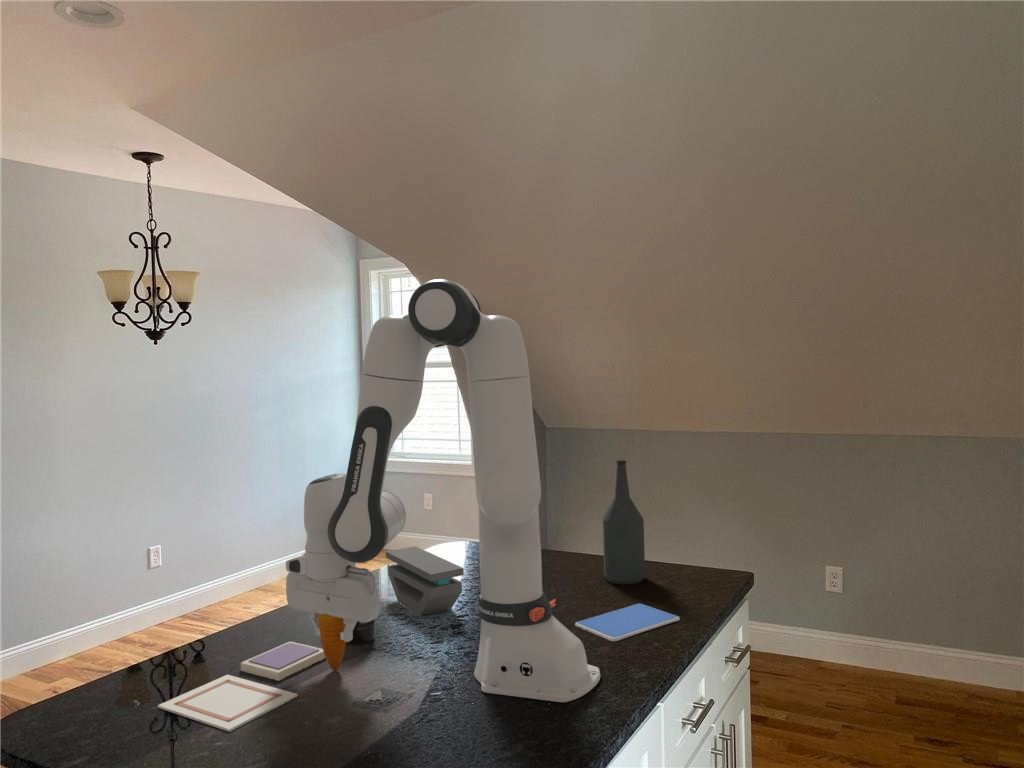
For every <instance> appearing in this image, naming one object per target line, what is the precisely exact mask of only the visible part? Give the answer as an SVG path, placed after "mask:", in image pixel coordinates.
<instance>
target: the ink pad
mask: <svg viewBox="0 0 1024 768" xmlns="http://www.w3.org/2000/svg"><path fill="white" fill-rule="evenodd" d="M324 658H325V659H326V657H325V655H324V651H323V648H319V647H318V646H312V645H308V644H303V643H300V642H299V643H298V642H295V641H287V642H285V643H283V644H281V645H279V646H275V647H273V648H272V649H270V650H267V651H265V652H262V653H261V654H257V655H255V656H253V657H251V658H247V659H246V660H243V661H242V662H240V671H241V672H244V673H247V674H252V675H255V676H259V677H263V678H266V677H267V679H270V680H273V679H274V681H278V682H279V681H282V680H283V679H286V678H288V677H289V675H290V676H292V675H294V674H296V673H298V672H300V671H302V670H304V669H306V668H309V667H310V665H311V666H312V664H313V665H315V664H317V663H319V662H321V661H323V660H325V659H324ZM318 661H319V662H318ZM316 662H317V663H316ZM314 663H315V664H314ZM308 666H309V667H308ZM305 667H306V668H305ZM303 668H304V669H303ZM301 669H302V670H301ZM299 670H300V671H299ZM297 671H298V672H297ZM295 672H296V673H295ZM293 673H294V674H293ZM291 674H292V675H291ZM287 676H288V677H287ZM285 677H286V678H285Z"/></svg>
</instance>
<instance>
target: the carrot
mask: <svg viewBox="0 0 1024 768" xmlns="http://www.w3.org/2000/svg"><path fill="white" fill-rule="evenodd" d="M326 598H327V601H329V599H330V597H329V596H327V597H326ZM319 626H320V636H319V637H320V641H321V646H322V649H323V651H324V655H325V657H326V658H325V660H326V662H327V663H328V665H329V666H330V669H332V670H333V671H334V672H336V671H337V670H338V669H340V665H341V663H342V661H343V657H344V655H345V652H346V645H347V644H346V642H344V641H341V640H340V632H341V631H344V628H345V626H346V624H344V623H343V618H339V617H334V616H330V615H328V614H320V616H319Z"/></svg>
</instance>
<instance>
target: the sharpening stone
mask: <svg viewBox="0 0 1024 768" xmlns="http://www.w3.org/2000/svg"><path fill="white" fill-rule="evenodd" d="M385 558H386V559H388V560H389V561H391V562H393V563H394V564H391V565H388V566H387V572H388V573H387V574H388V578H389V580H390V583H391V586H392V590H393V592H394V594H395V597H396V600H397V602H399V603H401V604H402V605H404V606H405V607H407V608H408V609H407V608H406V609H407V610H409V611H410V610H411V612H412V611H413V612H414V613H413V612H412V613H413V614H415V613H416V614H415V615H417V616H418V615H419V616H418V617H423V616H427V615H426V614H428V615H431V613H432V614H435V612H437V613H439V611H441V612H445V611H449V610H448V609H450V610H452V609H453V607H454V605H455V604H456V602H457V600H458V599H459V597H460V596H461V594H462V593H463V586H462V583H463V582H462V580H461V581H460V580H458V579H457V578H456V577H461V576H464V575H465V573H464V567H462V566H459V565H457V564H455V563H453V562H451V561H449V560H447V559H444V558H442V557H440V556H438V555H436V554H434V553H431V552H430V551H427V550H425V549H423V548H420V547H418V546H416V545H415V546H414V545H413V546H409V547H404V548H398V549H393V550H385ZM399 603H398V604H399ZM401 604H400V605H401ZM402 605H401V606H402ZM404 606H403V607H404ZM405 607H404V608H405ZM444 610H445V611H444ZM422 615H423V616H422Z"/></svg>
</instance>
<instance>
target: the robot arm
mask: <svg viewBox="0 0 1024 768" xmlns="http://www.w3.org/2000/svg"><path fill="white" fill-rule="evenodd" d="M408 301H409V303H408V305H407V306H408V307H407V314H390V315H389V314H388V315H384V316H383V317H380V318H379V319H377V320H376V321H375V322H374V324H373V326H372V328H371V331H370V333H369V336H368V339H367V340H368V341H367V343H366V348H365V352H364V355H363V356H364V357H363V362H362V369H361V375H360V385H359V396H358V405H357V414H356V422H355V429H354V434H353V438H352V443H351V448H350V453H349V459H348V465H347V470H346V471H347V472H346V473H333V474H329V475H325V476H322V477H318V478H316V479H313V480H312V481H310V482H309V483H308V484H307V485H306V488H305V493H304V499H303V500H304V501H303V524H304V525H303V526H304V529H305V533H306V543H305V547H304V550H305V551H304V552H305V553H303V554H301V555H298V556H296V557H293V558H290V559H288V560H286V561H285V569H286V571H287V572H288V573H287V575H286V579H285V590H286V592H285V593H286V602H287V604H288V605H289V608H291V609H294V610H299V611H303V612H305V611H306V612H309V615H308V617H309V619H310V621H311V622H312V625H313V627H314V635H315V636H318V637H320V626H319V616H320V614H328V615H330V616H334V617H339V618H343V623H344V624H346V626H345V628H344V631H341V632H340V640H341V641H344V642H349V641H351V640H352V639H353V629H354V627H355V625H356V623H357V621H359V622H364V623H366V622H369V621H371V620H373V619H375V620H376V619H377V618H378V616H379V615H380V613H381V608H380V598H379V594H378V591H379V590H378V587H377V584H376V577H375V575H374V574H373V573H372V572H371V571H370V570H369V569H368V568H365V567H362V568H361V567H358V566H356V563H359V564H360V563H367V562H369V561H371V560H373V559H375V558H376V557H377V556H378V555H379V554H380V553H381V552H382V550H383V549H384V548H385V547H386V546H387V545H388V544H390V542H391V541H392V540H393V539H395V538H396V537H397V536H398V535H399V534H400V533H401V532H402V530H403V528H404V526H405V522H406V518H407V517H406V511H405V507H404V505H403V503H402V501H401V500H400V499H399V497H398V496H396V495H395V494H394V493H392V492H388V491H384V483H385V478H386V471H387V467H388V459H389V456H390V453H391V450H392V448H393V446H394V443H395V442H396V440H397V439H398V437H399V436H400V435H401V434H402V432H403V431H404V430H405V429H406V427H407V426H408V425H409V424H410V423H411V422H412V421H413V420H414V418H415V416H416V413H417V411H418V408H419V405H420V401H421V399H422V398H421V397H422V393H423V387H424V378H425V370H426V362H427V360H428V356H429V354H430V352H431V351H432V349H433V348H440V347H445V346H452V347H455V348H459V349H460V350H461V352H462V354H463V356H464V359H465V366H466V380H467V389H468V390H467V391H468V399H469V400H468V401H469V411H470V412H469V413H470V421H471V422H470V423H471V425H470V426H471V438H472V440H471V441H472V454H473V466H474V467H473V469H474V480H475V481H474V482H475V494H476V495H475V496H476V500H477V504H478V540H479V541H478V542H479V543H478V547H479V549H478V550H479V551H478V552H479V553H478V555H479V556H478V557H479V580H480V582H479V583H480V593H479V595H478V616H479V622H480V633H479V634H480V638H479V648H478V653H477V660H476V664H475V668H474V672H473V675H474V678H475V679H476V681H478V682H479V684H480V685H481V686H480V689H481V691H482V692H483V693H487V694H493V695H494V694H495V695H503V696H509V697H516V698H524V699H526V698H527V699H533V700H539V701H549V702H555V703H556V702H557V703H568V702H571V701H574V700H576V699H579V698H581V697H583V696H584V695H586V694H587V693H589V692H590V691H591V690H593V689H594V688H595V687H596V686H597V685H598V683H599V682H600V679H601V671H600V668H599V667H598V666H596V665H595V666H594V665H591V664H588V660H587V653H586V650H585V646H584V644H583V642H582V640H581V639H580V638H579V637H578V636H576V635H575V634H574V633H573V632H572V631H570V630H569V629H568V628H567V627H566V626H565V625H563V624H562V622H560V621H559V620H558V619H557V618H556V617H555V616H554V615H553V611H552V608H554V607H555V606H556V605H557V603H556V602H557V601H556V600H557V599H556V598H554V599H552V600H548V599H547V596H546V595H545V593H544V591H543V569H542V568H543V567H542V566H543V565H542V563H543V562H542V545H541V530H540V529H541V528H540V515H539V513H540V512H539V505H540V503H541V498H542V487H541V485H542V484H541V478H540V476H541V475H540V466H539V458H538V448H537V447H538V446H537V440H536V439H537V438H536V432H535V430H536V429H535V423H534V422H535V421H534V411H533V400H532V388H531V378H530V377H531V375H530V368H529V361H528V354H527V349H526V345H525V341H524V337H523V333H522V330H521V327H520V325H519V324H518V323H517V321H515V319H513V318H510V317H508V316H504V315H501V314H500V315H499V314H495V315H494V314H493V315H487V314H484V313H482V309H481V306H480V304H479V301H478V300H477V297H476V296H474V294H473V293H472V292H470V291H469V290H468V289H467V288H466V287H465V286H463V285H462V284H460V283H457V282H454V281H451V280H449V279H443V278H437V279H435V278H434V279H432V280H431V279H430V280H428V281H425V282H424V283H422V284H420V285H419V286H418V287H417V288H416V289H415V291H414V292H413V293H412V295H411V296H410V299H409V300H408ZM327 596H329V597H330V599H329V601H327V598H326V597H327Z"/></svg>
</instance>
